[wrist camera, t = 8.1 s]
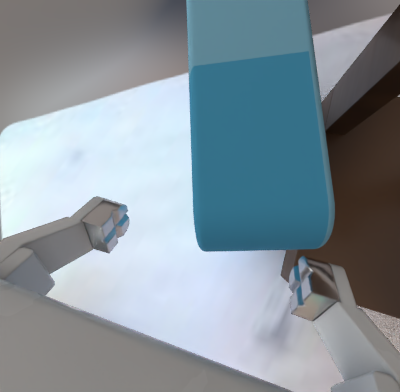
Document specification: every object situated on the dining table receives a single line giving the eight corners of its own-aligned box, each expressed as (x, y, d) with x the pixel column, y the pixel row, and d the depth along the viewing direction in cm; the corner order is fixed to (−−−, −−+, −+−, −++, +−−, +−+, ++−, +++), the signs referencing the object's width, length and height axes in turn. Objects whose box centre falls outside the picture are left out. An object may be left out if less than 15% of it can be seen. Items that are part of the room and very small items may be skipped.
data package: (208, 113, 20) (183, -49, 8) (254, 108, 19) (300, -71, 8) (213, 236, 18) (193, 258, 6) (265, 234, 18) (345, 255, 6)
